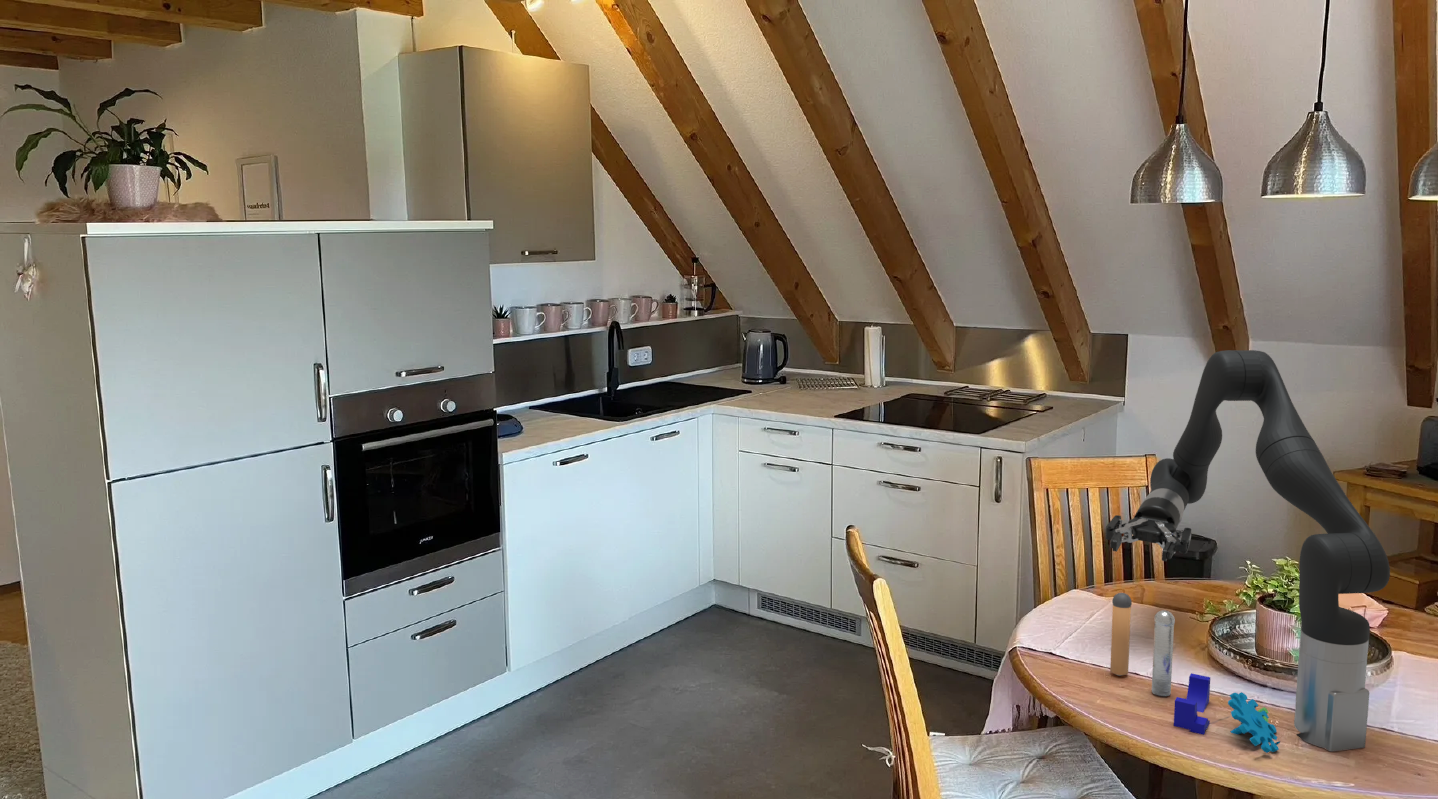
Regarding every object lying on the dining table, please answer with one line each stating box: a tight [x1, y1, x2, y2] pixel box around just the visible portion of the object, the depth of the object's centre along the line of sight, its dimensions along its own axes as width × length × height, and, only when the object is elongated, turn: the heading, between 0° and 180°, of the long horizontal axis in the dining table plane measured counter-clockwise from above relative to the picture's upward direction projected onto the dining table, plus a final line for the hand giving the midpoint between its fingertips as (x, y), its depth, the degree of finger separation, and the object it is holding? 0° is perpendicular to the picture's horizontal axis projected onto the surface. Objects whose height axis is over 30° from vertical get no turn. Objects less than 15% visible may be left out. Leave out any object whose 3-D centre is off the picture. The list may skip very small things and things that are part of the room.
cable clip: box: [1173, 673, 1211, 735], centre depth 174 cm, size 12×4×6 cm, turn 145°
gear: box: [1227, 691, 1281, 754], centre depth 168 cm, size 11×6×10 cm
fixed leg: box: [1151, 609, 1176, 697], centre depth 180 cm, size 3×3×15 cm
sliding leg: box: [1109, 592, 1133, 677], centre depth 188 cm, size 3×3×15 cm
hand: (1139, 551), depth 192 cm, fingers open, 8 cm apart
